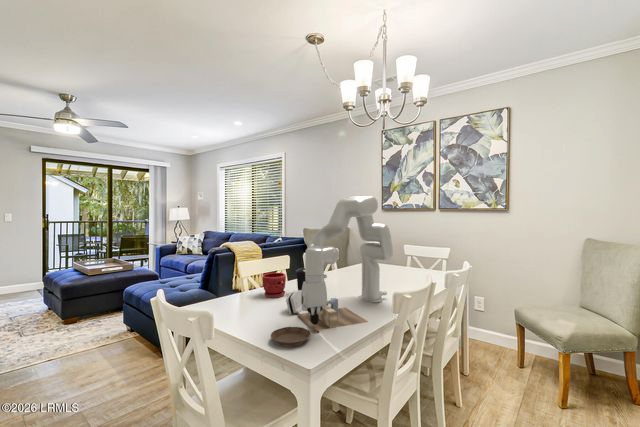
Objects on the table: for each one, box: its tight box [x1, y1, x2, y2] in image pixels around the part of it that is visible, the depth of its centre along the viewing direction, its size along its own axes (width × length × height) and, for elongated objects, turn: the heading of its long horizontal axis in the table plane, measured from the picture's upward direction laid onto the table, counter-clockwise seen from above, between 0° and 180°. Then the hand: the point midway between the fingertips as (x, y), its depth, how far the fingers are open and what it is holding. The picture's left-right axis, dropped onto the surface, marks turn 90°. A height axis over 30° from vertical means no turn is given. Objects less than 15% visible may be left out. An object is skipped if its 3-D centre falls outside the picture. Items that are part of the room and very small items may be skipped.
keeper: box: [327, 297, 339, 316], centre depth 138 cm, size 5×5×8 cm
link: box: [307, 300, 337, 328], centre depth 135 cm, size 20×9×6 cm, turn 23°
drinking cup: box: [295, 259, 305, 291], centre depth 178 cm, size 8×8×20 cm
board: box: [297, 307, 369, 334], centre depth 136 cm, size 24×21×1 cm
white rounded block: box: [285, 289, 303, 315], centre depth 151 cm, size 17×5×10 cm, turn 160°
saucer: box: [270, 326, 312, 348], centre depth 115 cm, size 15×15×3 cm
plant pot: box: [261, 272, 287, 299], centre depth 175 cm, size 13×13×12 cm
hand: (314, 323), depth 126 cm, fingers closed
